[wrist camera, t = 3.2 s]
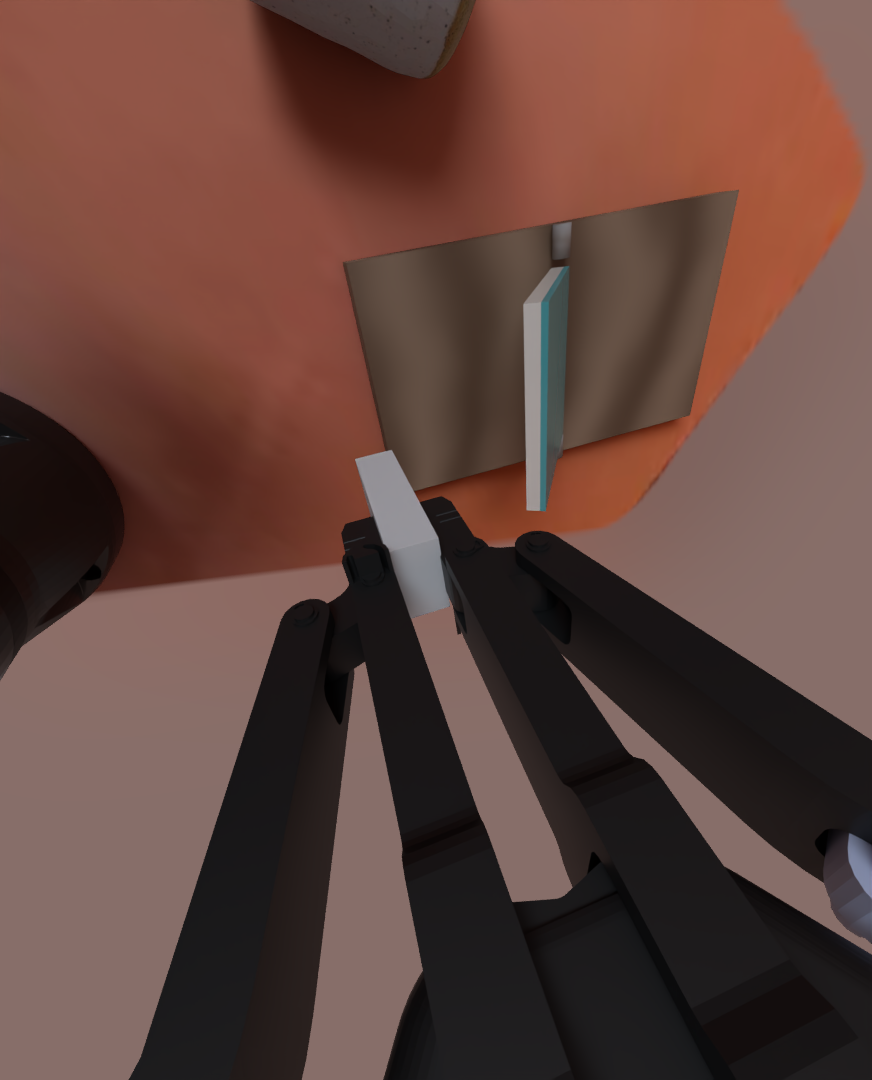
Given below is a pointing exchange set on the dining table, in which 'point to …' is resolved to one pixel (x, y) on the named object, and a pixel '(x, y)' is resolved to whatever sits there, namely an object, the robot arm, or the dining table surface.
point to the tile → (544, 381)
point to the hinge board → (498, 331)
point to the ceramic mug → (385, 28)
